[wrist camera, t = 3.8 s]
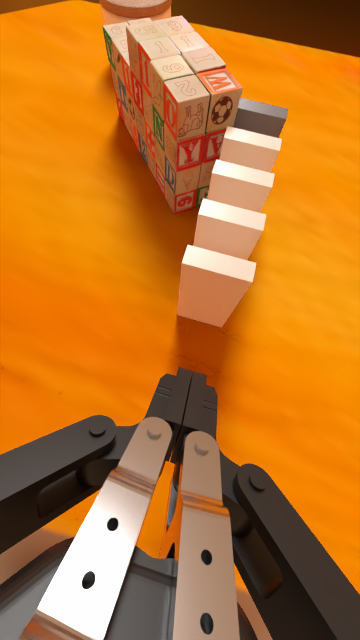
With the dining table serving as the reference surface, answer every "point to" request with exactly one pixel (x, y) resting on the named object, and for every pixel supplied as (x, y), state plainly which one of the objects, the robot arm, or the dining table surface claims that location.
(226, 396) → the dining table surface
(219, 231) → the domino
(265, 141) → the domino
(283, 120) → the domino
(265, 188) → the domino
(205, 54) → the stack of blocks
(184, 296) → the domino
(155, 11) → the lidded jar
